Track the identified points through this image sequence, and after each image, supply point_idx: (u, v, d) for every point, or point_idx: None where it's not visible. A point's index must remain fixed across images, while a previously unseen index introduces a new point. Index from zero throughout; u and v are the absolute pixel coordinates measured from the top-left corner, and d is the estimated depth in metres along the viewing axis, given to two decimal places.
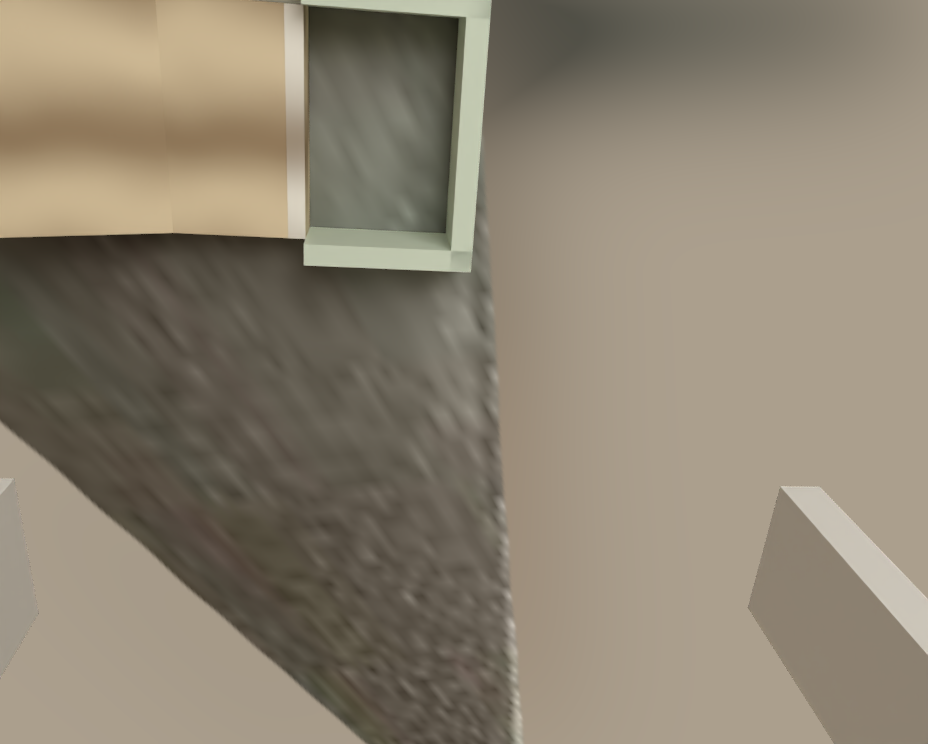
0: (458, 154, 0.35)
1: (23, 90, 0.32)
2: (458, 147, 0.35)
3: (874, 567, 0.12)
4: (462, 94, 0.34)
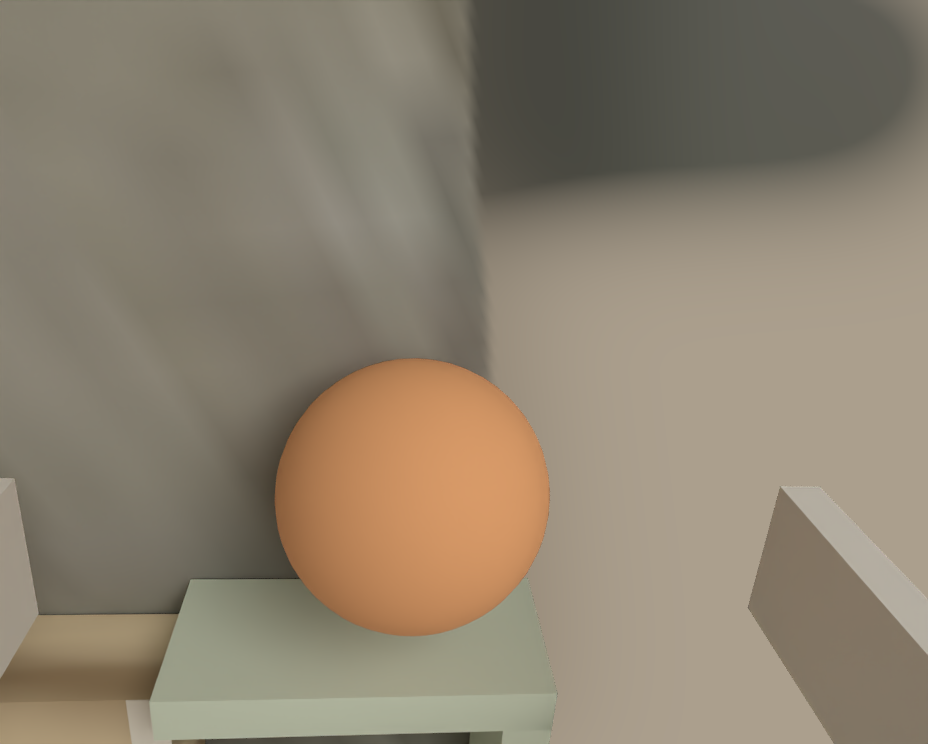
0: None
1: None
2: None
3: (874, 567, 0.12)
4: None
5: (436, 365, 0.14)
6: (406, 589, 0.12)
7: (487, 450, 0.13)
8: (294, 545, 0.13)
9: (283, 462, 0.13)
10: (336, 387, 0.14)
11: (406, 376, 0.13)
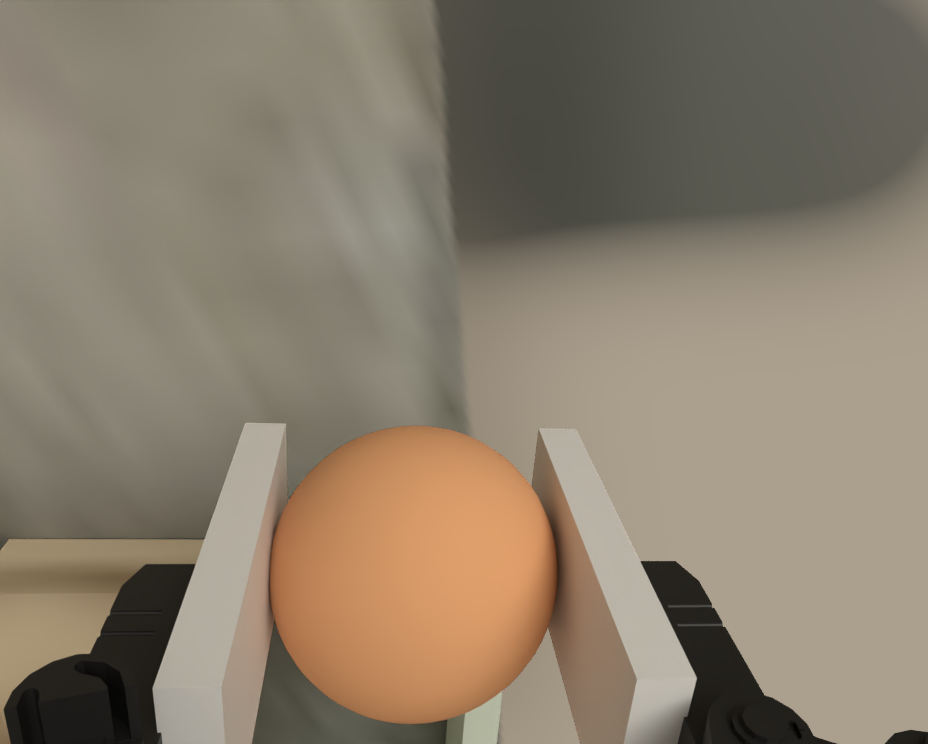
0: None
1: None
2: None
3: (584, 491, 0.13)
4: None
5: (438, 434, 0.13)
6: (407, 679, 0.11)
7: (493, 528, 0.12)
8: (288, 629, 0.12)
9: (277, 539, 0.13)
10: (334, 459, 0.13)
11: (406, 449, 0.13)
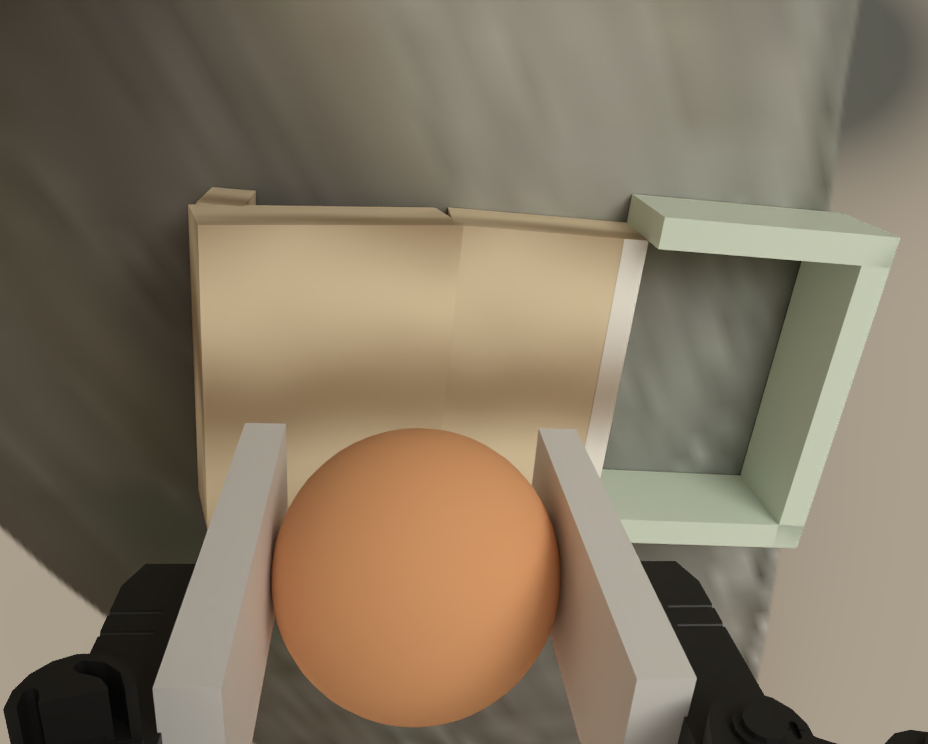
0: (813, 420, 0.27)
1: (292, 354, 0.24)
2: (814, 412, 0.27)
3: (584, 491, 0.13)
4: (834, 353, 0.26)
5: (441, 437, 0.13)
6: (410, 683, 0.11)
7: (496, 531, 0.12)
8: (291, 632, 0.12)
9: (280, 541, 0.13)
10: (336, 461, 0.13)
11: (410, 451, 0.13)
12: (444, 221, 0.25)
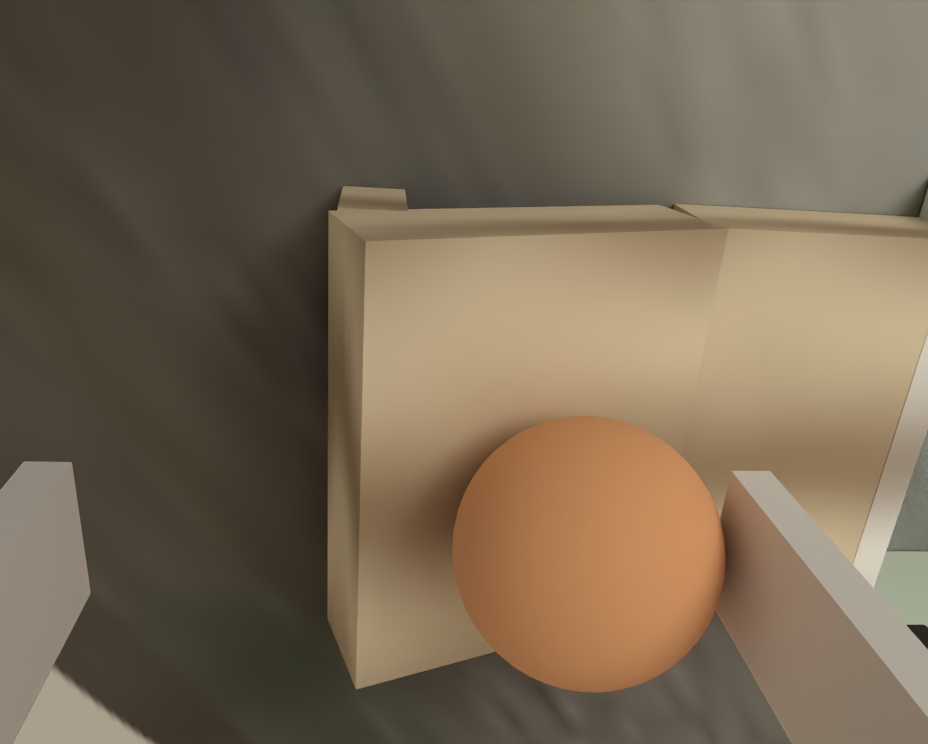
0: None
1: (485, 431, 0.16)
2: None
3: (814, 546, 0.12)
4: None
5: (575, 423, 0.14)
6: None
7: None
8: (676, 633, 0.13)
9: (619, 590, 0.12)
10: (581, 495, 0.13)
11: (607, 438, 0.14)
12: (696, 223, 0.17)
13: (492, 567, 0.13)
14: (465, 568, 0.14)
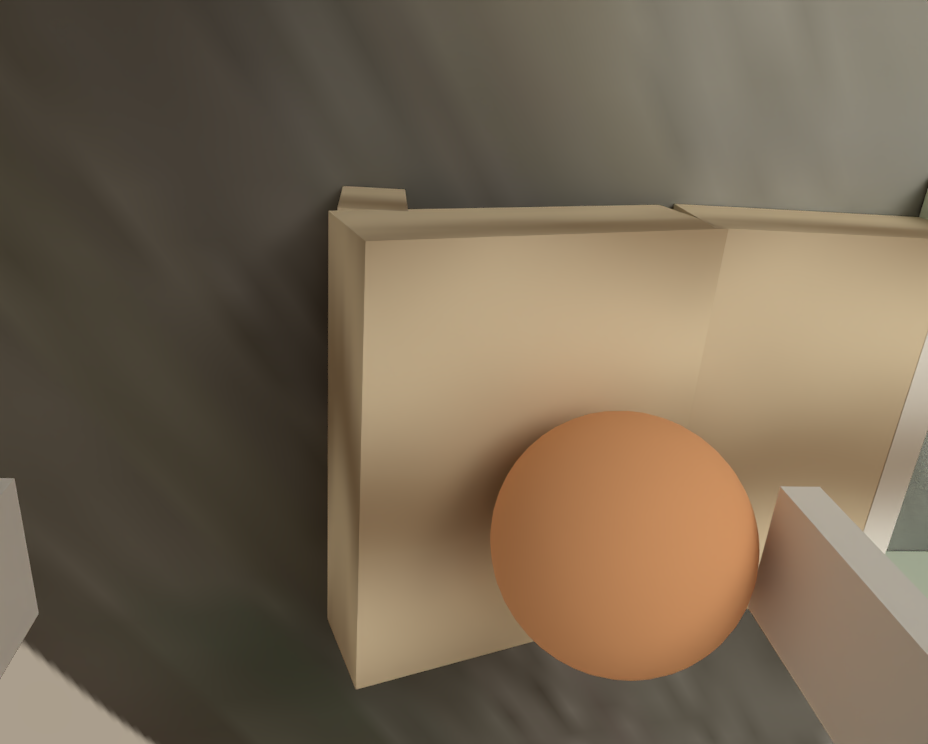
0: None
1: (485, 431, 0.16)
2: None
3: (874, 567, 0.12)
4: None
5: (608, 421, 0.14)
6: None
7: None
8: (740, 606, 0.13)
9: (700, 576, 0.13)
10: (649, 491, 0.13)
11: (648, 431, 0.14)
12: (696, 223, 0.17)
13: (569, 577, 0.13)
14: (531, 583, 0.13)
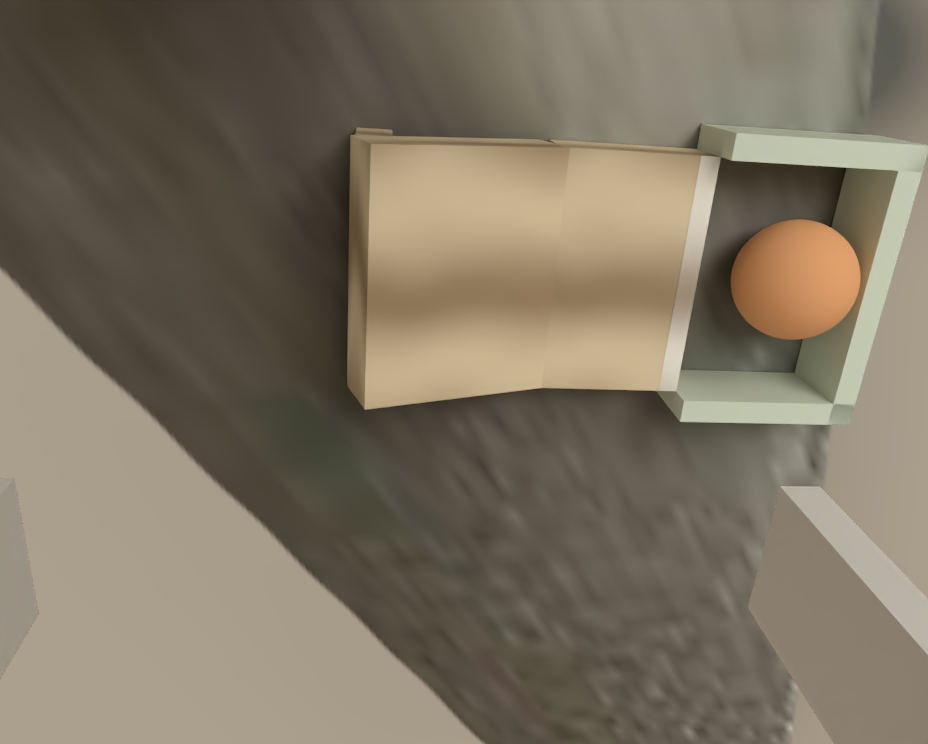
0: (861, 308, 0.32)
1: (435, 256, 0.29)
2: (861, 300, 0.32)
3: (874, 567, 0.12)
4: (877, 248, 0.31)
5: (797, 219, 0.32)
6: (856, 293, 0.31)
7: None
8: (820, 296, 0.30)
9: (796, 269, 0.30)
10: (789, 235, 0.31)
11: (809, 221, 0.32)
12: (553, 145, 0.30)
13: (746, 263, 0.32)
14: (735, 269, 0.33)
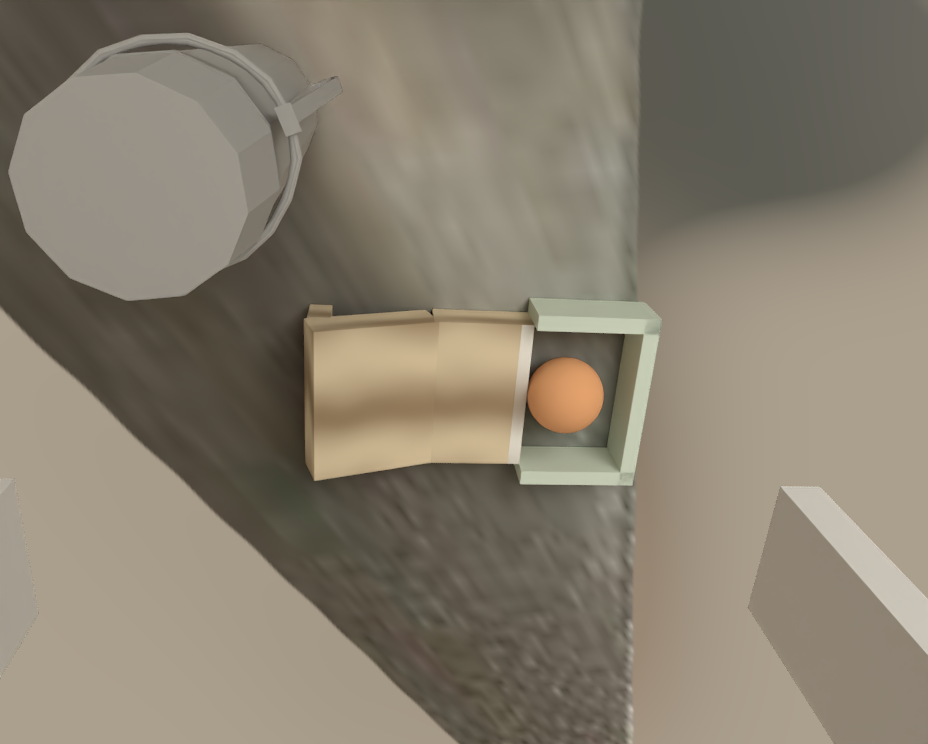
0: (630, 414, 0.51)
1: (356, 390, 0.48)
2: (631, 409, 0.51)
3: (874, 567, 0.12)
4: (637, 378, 0.50)
5: (571, 358, 0.51)
6: (579, 411, 0.49)
7: (593, 376, 0.50)
8: (545, 406, 0.49)
9: (537, 386, 0.50)
10: (547, 365, 0.50)
11: (567, 360, 0.50)
12: (429, 319, 0.49)
13: None
14: None
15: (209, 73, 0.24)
